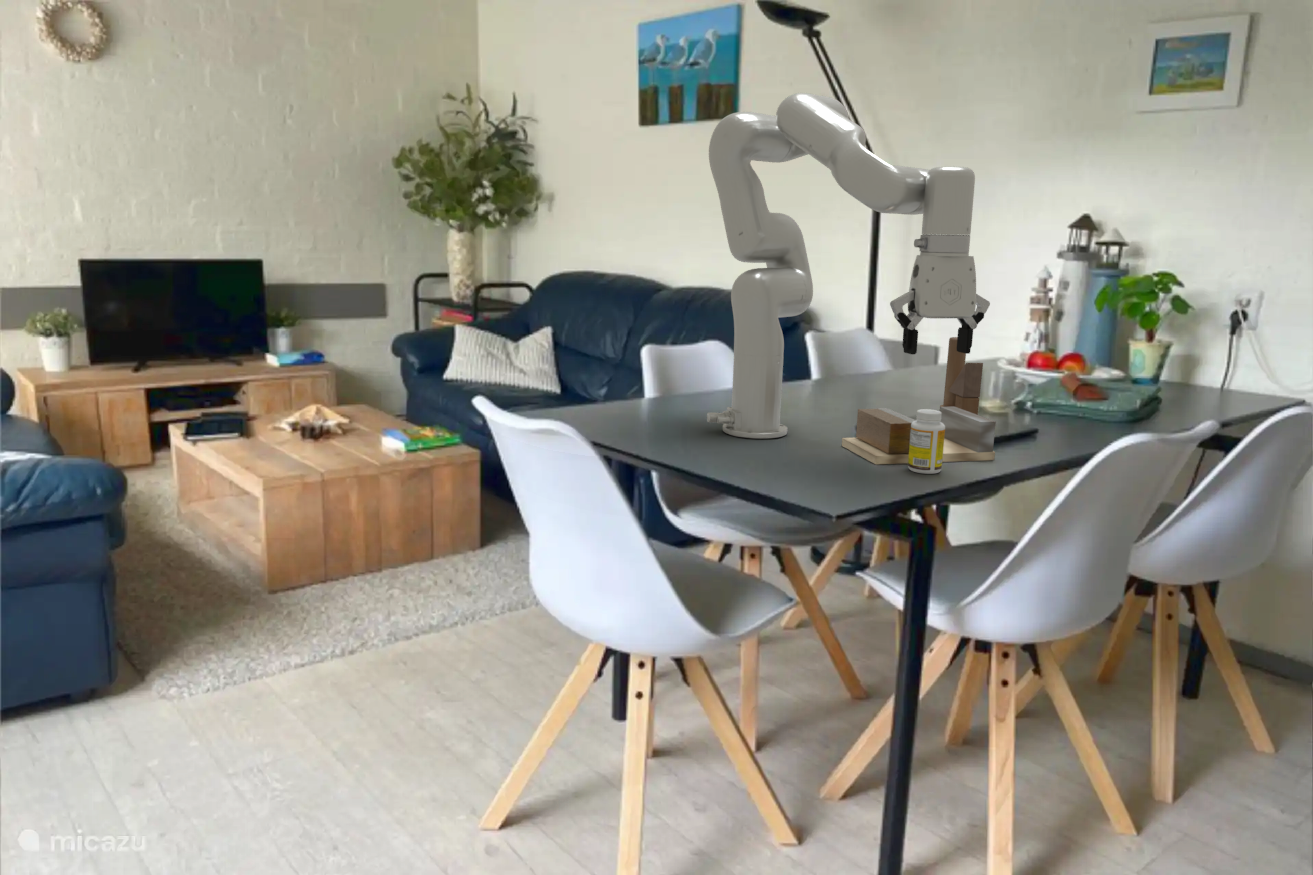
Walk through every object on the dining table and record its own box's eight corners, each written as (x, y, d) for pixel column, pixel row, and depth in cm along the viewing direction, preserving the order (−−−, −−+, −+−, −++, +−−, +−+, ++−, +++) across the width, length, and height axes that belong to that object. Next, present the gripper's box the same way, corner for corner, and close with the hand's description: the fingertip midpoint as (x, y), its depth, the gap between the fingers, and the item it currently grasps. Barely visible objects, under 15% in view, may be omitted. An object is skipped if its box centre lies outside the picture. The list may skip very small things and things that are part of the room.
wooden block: (959, 432, 195) (968, 343, 191) (937, 421, 205) (945, 336, 201) (977, 432, 195) (986, 343, 191) (954, 421, 206) (962, 336, 202)
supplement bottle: (933, 466, 167) (939, 408, 165) (946, 474, 162) (952, 414, 159) (902, 466, 166) (907, 407, 164) (914, 474, 161) (919, 414, 159)
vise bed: (875, 464, 167) (878, 424, 166) (841, 445, 180) (844, 408, 179) (994, 460, 173) (998, 421, 171) (953, 442, 186) (956, 406, 184)
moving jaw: (889, 454, 167) (892, 424, 166) (854, 436, 181) (856, 408, 179) (921, 453, 169) (923, 423, 168) (884, 435, 182) (886, 407, 181)
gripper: (907, 246, 150) (899, 356, 154) (1006, 248, 154) (996, 355, 158) (884, 245, 157) (877, 351, 161) (980, 246, 161) (971, 349, 165)
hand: (936, 353), depth 159 cm, fingers open, 9 cm apart
